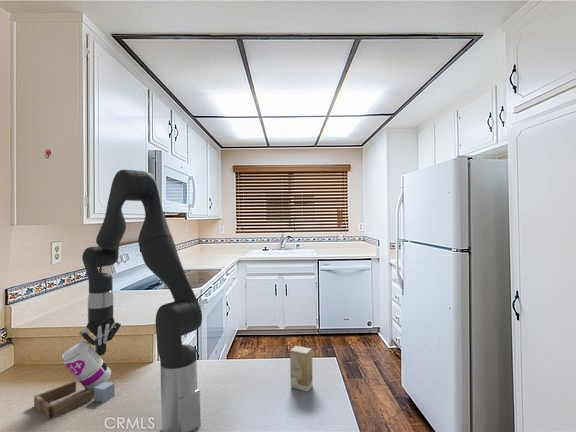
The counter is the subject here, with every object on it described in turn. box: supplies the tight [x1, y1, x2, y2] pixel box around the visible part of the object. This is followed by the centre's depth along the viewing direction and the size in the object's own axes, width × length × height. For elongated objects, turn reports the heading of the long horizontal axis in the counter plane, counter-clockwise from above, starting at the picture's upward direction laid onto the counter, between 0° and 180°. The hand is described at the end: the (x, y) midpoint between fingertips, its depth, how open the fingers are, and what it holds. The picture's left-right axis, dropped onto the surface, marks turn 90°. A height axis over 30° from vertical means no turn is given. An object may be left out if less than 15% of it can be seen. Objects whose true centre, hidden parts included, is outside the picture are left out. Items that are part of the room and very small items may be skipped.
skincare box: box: [289, 345, 313, 393], centre depth 103 cm, size 6×4×12 cm
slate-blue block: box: [93, 381, 116, 403], centre depth 100 cm, size 4×4×4 cm
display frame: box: [33, 380, 92, 420], centre depth 98 cm, size 12×11×3 cm
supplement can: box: [61, 340, 112, 392], centre depth 105 cm, size 8×8×15 cm
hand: (100, 354), depth 109 cm, fingers closed
